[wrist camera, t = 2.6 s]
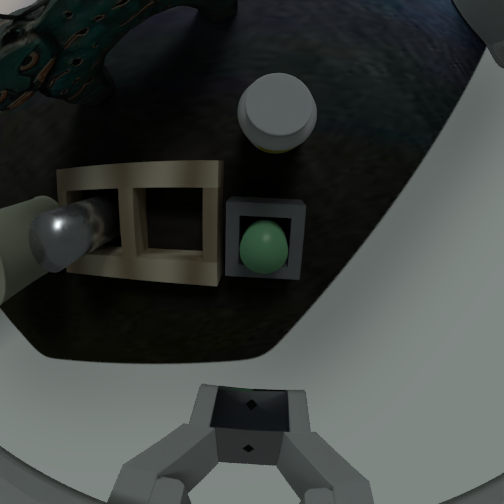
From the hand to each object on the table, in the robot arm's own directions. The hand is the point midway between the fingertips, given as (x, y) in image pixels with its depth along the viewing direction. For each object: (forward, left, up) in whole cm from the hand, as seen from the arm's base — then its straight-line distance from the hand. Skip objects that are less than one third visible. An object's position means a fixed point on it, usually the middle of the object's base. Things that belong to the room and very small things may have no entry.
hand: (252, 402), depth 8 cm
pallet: (+12, -1, -21) cm, 24 cm away
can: (+26, +1, -21) cm, 34 cm away
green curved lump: (+12, -19, -21) cm, 31 cm away
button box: (0, 0, -21) cm, 21 cm away
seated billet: (+16, -1, -21) cm, 26 cm away
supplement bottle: (-1, -10, -21) cm, 23 cm away
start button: (0, 0, -18) cm, 18 cm away
